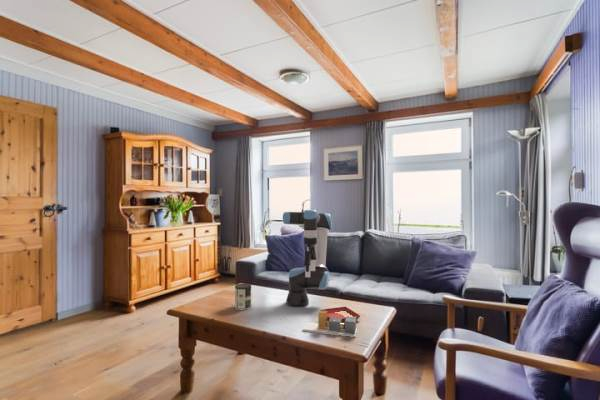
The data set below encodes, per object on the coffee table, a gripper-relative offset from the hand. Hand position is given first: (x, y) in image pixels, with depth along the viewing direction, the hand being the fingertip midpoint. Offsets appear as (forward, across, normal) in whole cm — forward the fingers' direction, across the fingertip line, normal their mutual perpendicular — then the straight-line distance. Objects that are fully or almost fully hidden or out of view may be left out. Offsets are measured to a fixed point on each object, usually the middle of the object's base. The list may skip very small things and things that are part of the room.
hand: (310, 273), depth 180 cm
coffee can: (+27, -9, -46) cm, 54 cm away
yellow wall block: (+25, +12, +16) cm, 32 cm away
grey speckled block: (+26, +12, +16) cm, 33 cm away
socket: (+26, +12, +24) cm, 38 cm away
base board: (+26, +12, +13) cm, 32 cm away
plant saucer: (+28, -8, +16) cm, 33 cm away
